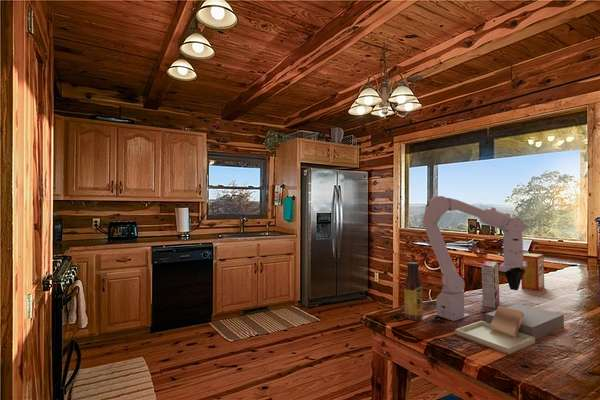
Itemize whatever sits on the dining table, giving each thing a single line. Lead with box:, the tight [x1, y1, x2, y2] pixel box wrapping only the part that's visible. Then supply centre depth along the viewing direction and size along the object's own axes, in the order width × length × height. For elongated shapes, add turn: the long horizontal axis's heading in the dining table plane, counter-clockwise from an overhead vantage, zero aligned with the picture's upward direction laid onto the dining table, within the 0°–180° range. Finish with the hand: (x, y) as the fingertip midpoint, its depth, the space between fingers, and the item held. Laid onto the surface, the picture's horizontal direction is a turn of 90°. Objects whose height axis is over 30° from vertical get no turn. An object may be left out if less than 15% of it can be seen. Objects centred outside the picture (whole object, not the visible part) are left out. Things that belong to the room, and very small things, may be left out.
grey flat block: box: [485, 303, 565, 341], centre depth 107 cm, size 20×14×4 cm
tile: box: [490, 305, 524, 338], centre depth 101 cm, size 8×7×2 cm
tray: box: [454, 320, 536, 355], centre depth 98 cm, size 14×16×2 cm
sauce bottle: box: [403, 261, 424, 321], centre depth 117 cm, size 6×6×20 cm
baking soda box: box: [520, 252, 545, 292], centre depth 153 cm, size 10×6×16 cm
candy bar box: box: [480, 260, 500, 309], centre depth 131 cm, size 11×5×16 cm, turn 143°
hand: (514, 289), depth 114 cm, fingers closed
